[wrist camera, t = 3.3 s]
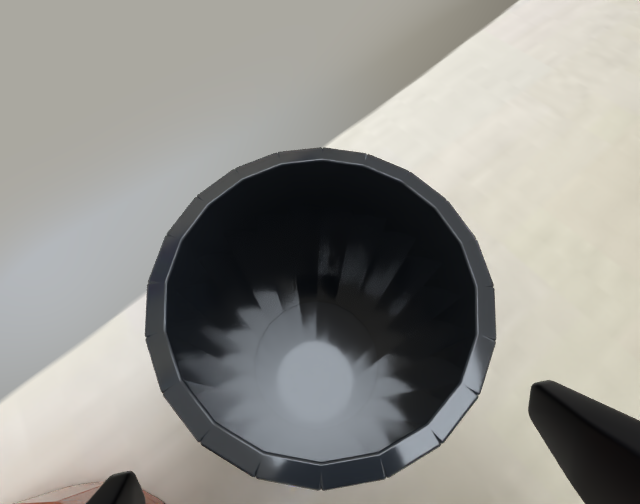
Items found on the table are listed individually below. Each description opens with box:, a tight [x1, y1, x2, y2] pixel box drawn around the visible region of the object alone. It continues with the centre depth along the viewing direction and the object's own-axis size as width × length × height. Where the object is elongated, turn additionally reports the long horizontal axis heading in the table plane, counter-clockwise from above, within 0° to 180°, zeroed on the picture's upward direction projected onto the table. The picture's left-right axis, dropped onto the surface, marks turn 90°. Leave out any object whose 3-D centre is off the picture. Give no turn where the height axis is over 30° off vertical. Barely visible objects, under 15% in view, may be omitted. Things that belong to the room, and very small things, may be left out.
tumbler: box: [145, 147, 496, 491], centre depth 13 cm, size 7×7×12 cm
